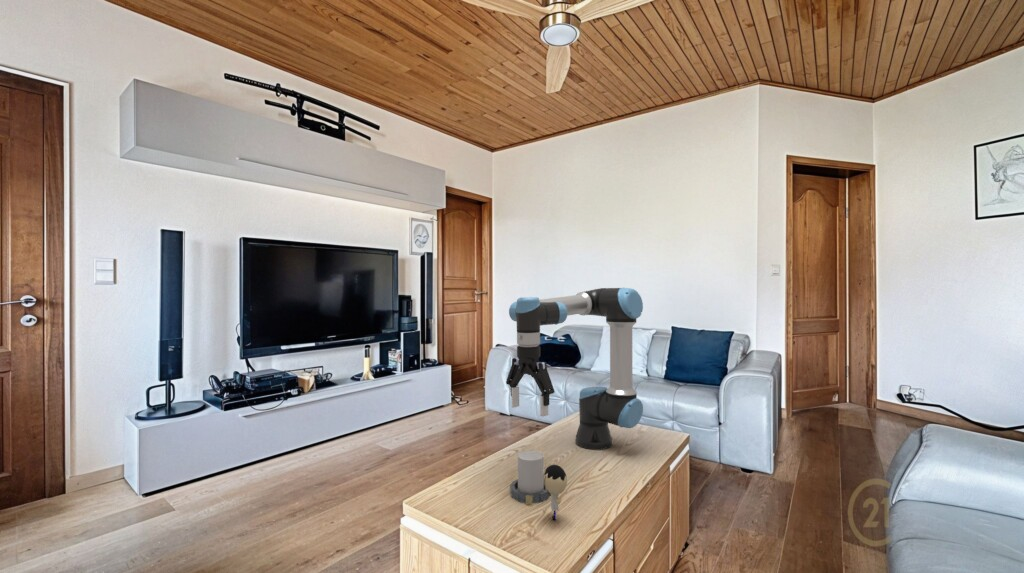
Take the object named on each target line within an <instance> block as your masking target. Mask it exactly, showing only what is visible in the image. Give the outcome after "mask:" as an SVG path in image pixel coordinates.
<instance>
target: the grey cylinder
mask: <svg viewBox="0 0 1024 573" xmlns="http://www.w3.org/2000/svg"><path fill="white" fill-rule="evenodd" d="M544 467H545V466H544V453H542V452H541V451H537V450H523V451H520V452H518V454H517V479H518V489H517V490H518V491H520V492H523V493H529V494H530V493H539V492H541V491H544V482H543V475H544V472H545V470H544Z"/></svg>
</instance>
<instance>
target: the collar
mask: <svg viewBox="0 0 1024 573" xmlns="http://www.w3.org/2000/svg"><path fill="white" fill-rule="evenodd" d="M509 489H510V490H509V494H510V496H511V498H512V499H513V500H515V501H517V502H519V503H524V504H525V505H526V506H533V504H538V503H542V502H545V501H547V500H549V499H550V498H551V493H550V492H549V491H548V490H547V489H546V488H545V486H544V491H541V492H539V493H530V494H529V493H523V492H520V491H518V478H517V479H514V480H513V481H512V482H511V484H510V485H509Z"/></svg>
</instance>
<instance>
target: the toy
mask: <svg viewBox="0 0 1024 573" xmlns="http://www.w3.org/2000/svg"><path fill="white" fill-rule="evenodd" d="M543 482H544V486H545V488H546V489H547V490H548V491H549V492H550V493H551V496H550V508H551V511H552V512H553V515H552V516H551V518H552V521H556V520H557V518H556V514H557V511H559V505H560V504H561V501H562V500H561V499H560V497H559V495H561V494H562V493H563V492H564V491H565V490H566V487H567V485H568V477H567V473H566V472H565V470H564V469H563V467H561V466H560V465H558V464H550V465H549V466H547V467H546V468H545V470H544V475H543Z"/></svg>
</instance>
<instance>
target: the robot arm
mask: <svg viewBox="0 0 1024 573" xmlns="http://www.w3.org/2000/svg"><path fill="white" fill-rule="evenodd" d="M643 309H644V302H643V299H642V297H641V295H640V293H639V292H638V291H637V290H636V289H634V288H631V287H630V288H629V287H600V288H595V289H590V290H585V291H580V292H577V293H576V294H575V295H567V296H559V297H550V298H542V299H540V298H539V297H537V296H533V297H532V296H527V297H526V296H525V297H521V296H520V297H518V298H517V300H516V301H514V302H513V303H511V304H510V306H509V309H508V315H509V317H510V319H511V321H513V322H516V344H517V346H516V357H512V359H511V366H510V369H509V372H508V375H507V378H506V381H505V382H506V385H509V388H510V396H511V408H512V409H515V408H518V407H520V386H519V383H520V382H521V380H523V379H522V378H523V377H524V375H528V376H530V377H532V378H533V380H534V382H535V384H536V385H537V387H538V390H539V391H540V393H541V394H540V395H539V396H540V397H539V398H540V399H539V404H540V405H539V406H540V408H539V409H540V411H539V412H540V417H542V418H543V417H546V416H549V405H550V395H552V394H555V389H554V386H553V383H552V379H551V377H550V374H549V372H548V367H547V366H548V365H547V362H546V361H543V362H540V361H539V358H540V357H541V345H540V344H541V326H549V325H558V324H563V323H565V321H566V320H567V318H568V316H574V315H575V316H576V315H580V316H598V317H605V323H606V324H608V326H609V387H606V386H589V387H584V388H582V389H581V390H580V391H579V398H578V400H579V402H578V404H579V405H578V407H579V410H578V411H579V424H578V428H577V432H576V435H575V444H576V445H577V446H578V447H580V448H584V449H586V450H587V449H588V450H607V449H609V448H611V447H612V446H613V437H612V435H611V431H610V428H609V424H610V425H614V426H618V427H620V428H624V429H633V428H634V427H637V425H638V424H639V422H640V421H641V419H642V417H643V412H644V405H643V404H644V403H643V402H642V401H641V400H640V399H639V398H638V397H637V390H635V388H634V387H633V327H634V326H635V325H636V324H637V319H639V318H640V317H641V316H642V313H643Z"/></svg>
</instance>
